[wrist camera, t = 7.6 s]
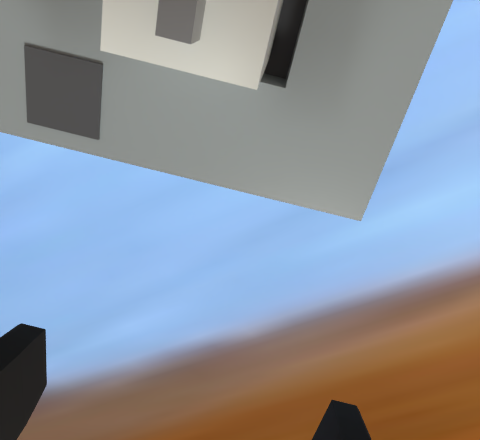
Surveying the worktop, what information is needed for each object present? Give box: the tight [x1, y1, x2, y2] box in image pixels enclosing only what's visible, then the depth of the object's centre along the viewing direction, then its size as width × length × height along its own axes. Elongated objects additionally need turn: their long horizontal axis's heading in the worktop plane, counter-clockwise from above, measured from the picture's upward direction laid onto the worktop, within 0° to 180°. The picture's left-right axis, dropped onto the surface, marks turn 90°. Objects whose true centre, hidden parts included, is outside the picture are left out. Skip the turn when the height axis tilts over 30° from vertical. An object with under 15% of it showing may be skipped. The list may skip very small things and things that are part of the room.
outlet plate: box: [0, 0, 453, 221], centre depth 14 cm, size 12×16×2 cm
